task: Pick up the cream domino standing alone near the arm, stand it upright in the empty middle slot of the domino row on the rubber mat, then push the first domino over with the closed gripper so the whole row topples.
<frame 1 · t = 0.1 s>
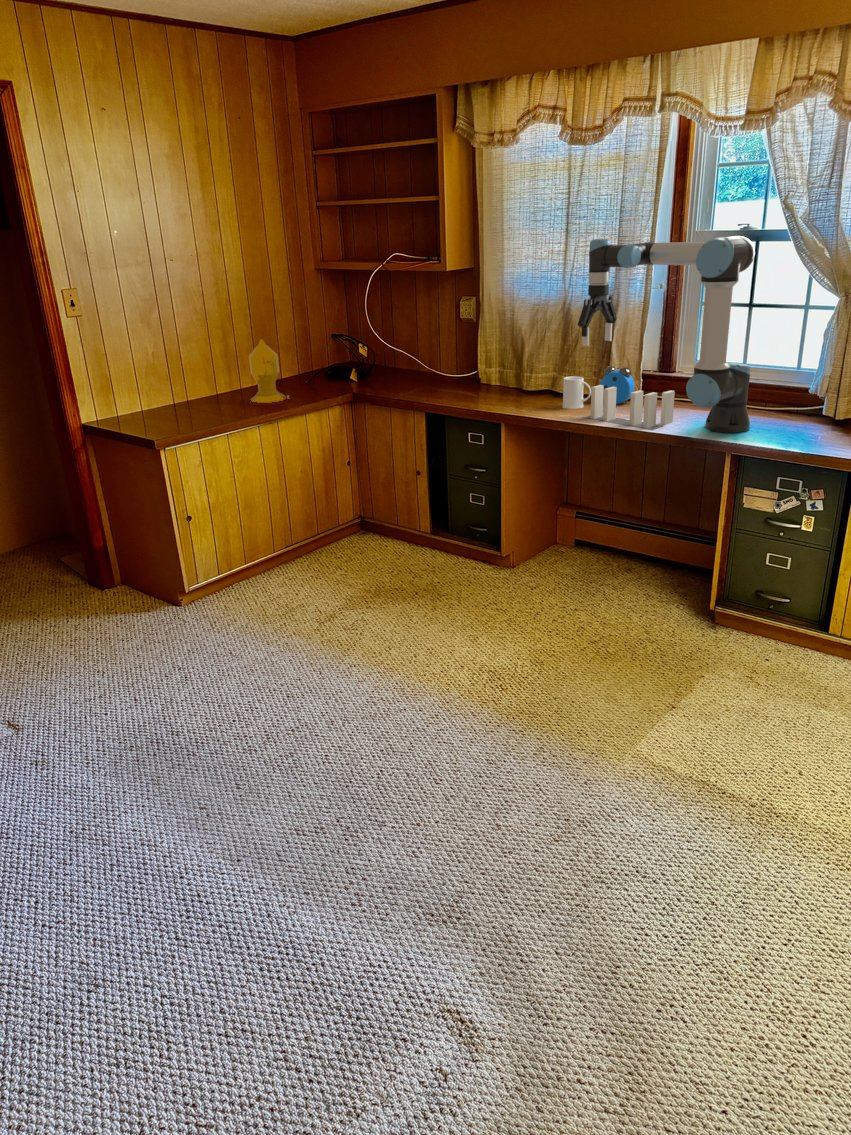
hand: (596, 343, 317), 28 cm above the worktop, tool pointing down, fingers open, 13 cm apart
domino 2: (635, 424, 312), resting on mat
domino 4: (609, 419, 320), resting on mat
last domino: (596, 417, 324), resting on mat
alarm clock: (616, 403, 347), on the worktop
mat: (622, 422, 316), on the worktop
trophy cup: (271, 402, 384), on the worktop
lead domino: (649, 426, 308), resting on mat
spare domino: (666, 424, 311), on the worktop
mug: (576, 408, 343), on the worktop
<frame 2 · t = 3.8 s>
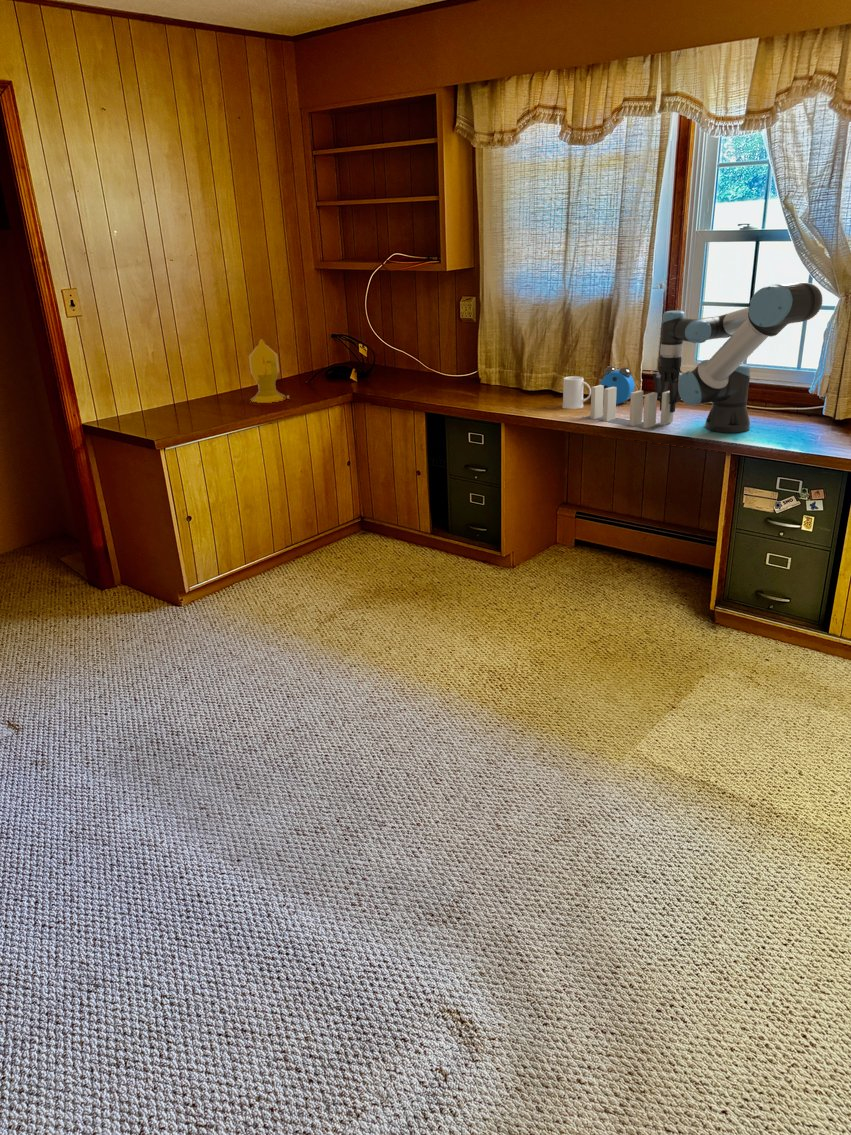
hand: (666, 420, 311), 1 cm above the worktop, tool pointing down, fingers closed on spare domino, 2 cm apart
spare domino: (666, 424, 311), on the worktop, touching gripper
everything else where it was.
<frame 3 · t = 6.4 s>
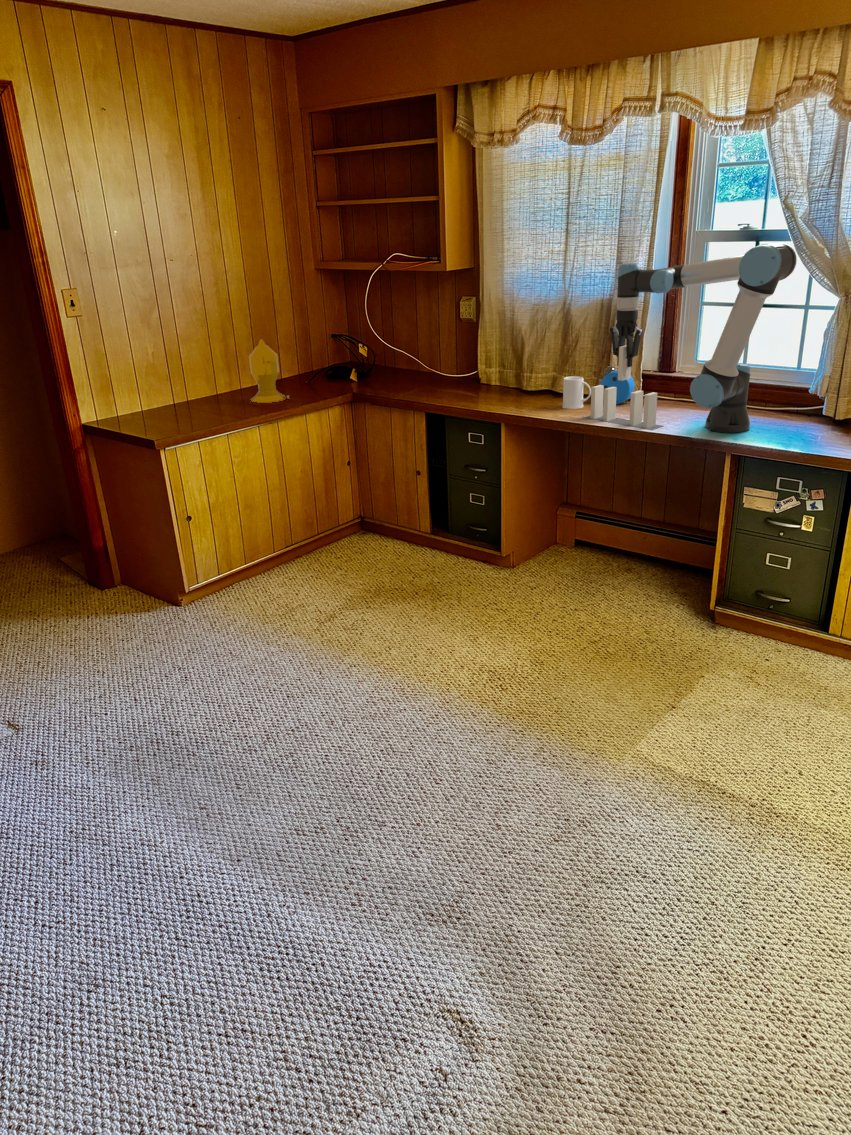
hand: (624, 375, 309), 18 cm above the worktop, tool pointing down, fingers closed on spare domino, 2 cm apart
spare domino: (624, 379, 310), point 16 cm above the worktop, touching gripper
everything else where it was.
when the fingers open (2 cm above the worktop, at t = 9.3 s): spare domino stays where it is, resting on mat.
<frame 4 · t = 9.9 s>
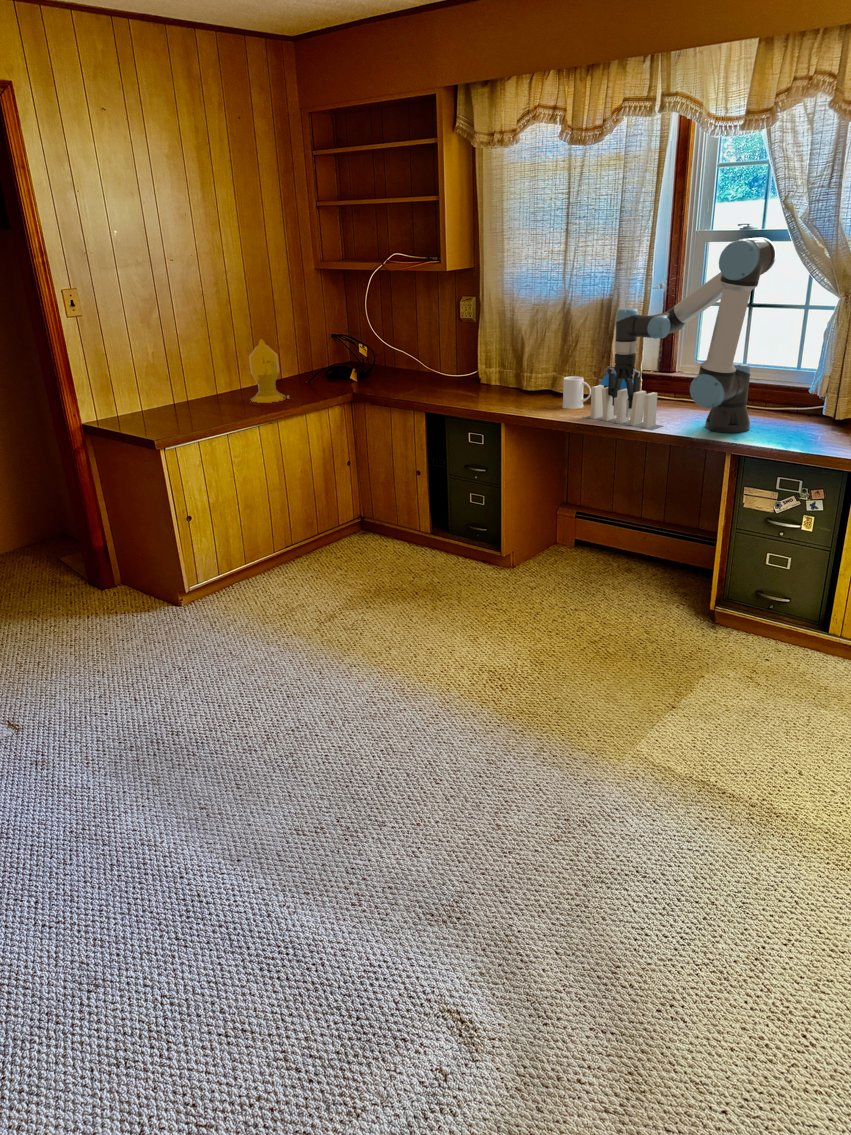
hand: (622, 415, 315), 3 cm above the worktop, tool pointing down, fingers open, 5 cm apart
domino 2: (635, 423, 312), resting on mat, tilted 6°, touching gripper
domino 4: (609, 419, 320), resting on mat, tilted 6°
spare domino: (622, 421, 316), resting on mat
everything else where it was.
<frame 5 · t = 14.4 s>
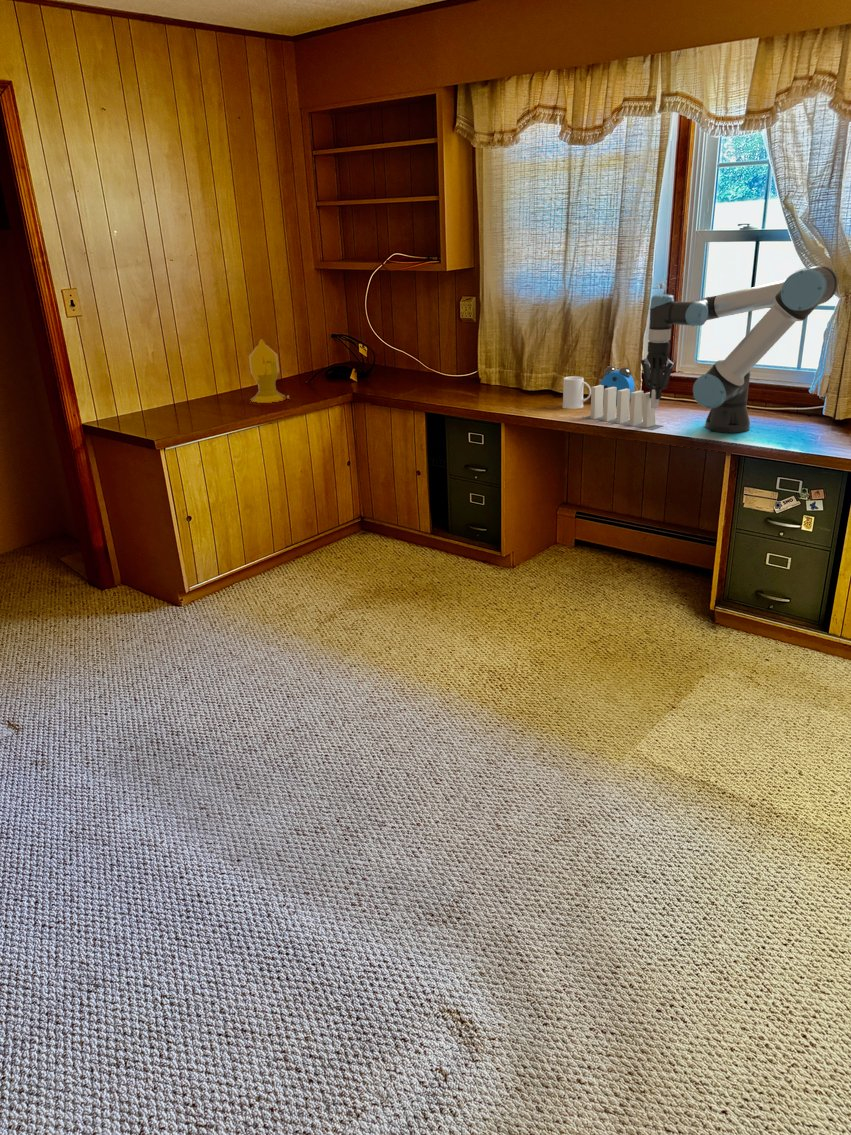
hand: (654, 407, 304), 8 cm above the worktop, tool pointing down, fingers closed
domino 2: (635, 424, 312), resting on mat
domino 4: (609, 419, 320), resting on mat
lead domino: (649, 426, 308), point 1 cm above the worktop, tilted 7°, touching gripper, mat
everything else where it was.
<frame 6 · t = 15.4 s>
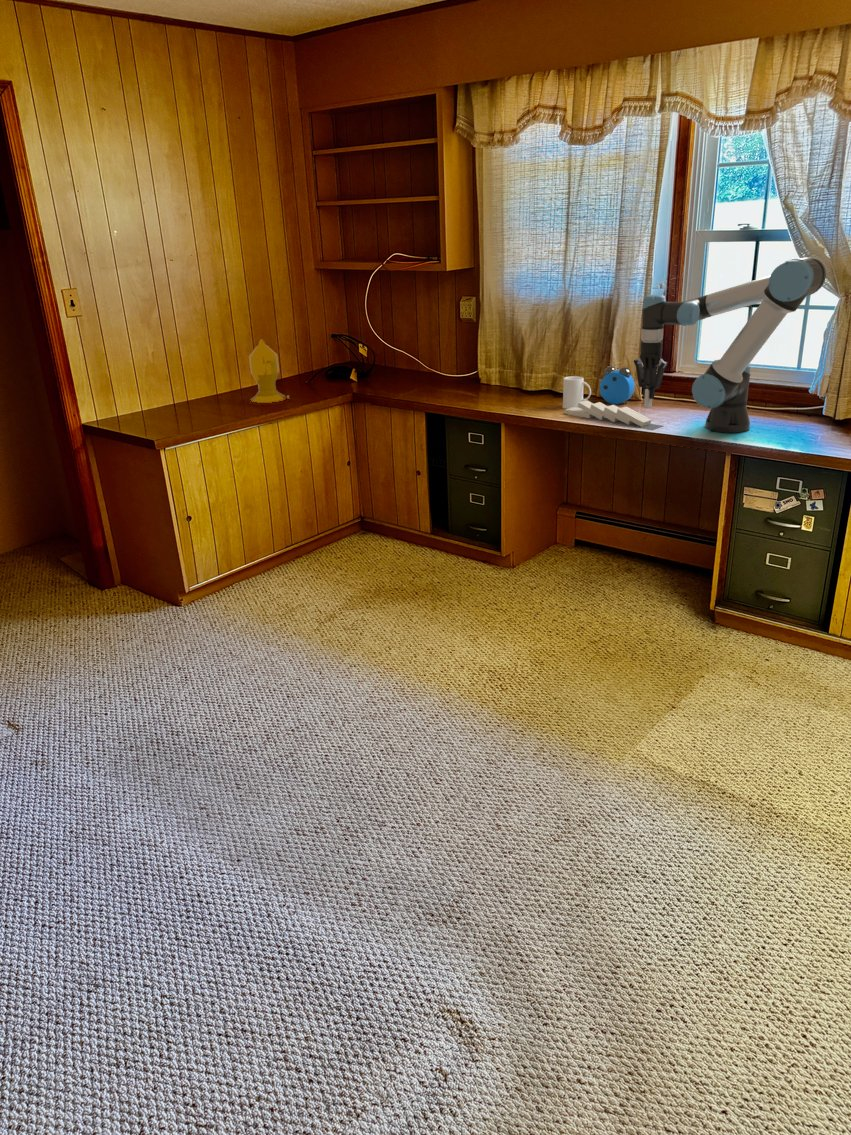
hand: (648, 407, 306), 7 cm above the worktop, tool pointing down, fingers closed
domino 2: (633, 421, 312), point 1 cm above the worktop, tilted 73°, touching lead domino, mat, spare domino
domino 4: (605, 416, 321), point 1 cm above the worktop, tilted 72°, touching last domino, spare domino
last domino: (593, 414, 325), point 1 cm above the worktop, tilted 90°, touching domino 4, mat
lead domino: (646, 423, 308), point 1 cm above the worktop, tilted 73°, touching domino 2
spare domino: (618, 418, 317), point 1 cm above the worktop, tilted 72°, touching domino 2, domino 4, mat
everything else where it was.
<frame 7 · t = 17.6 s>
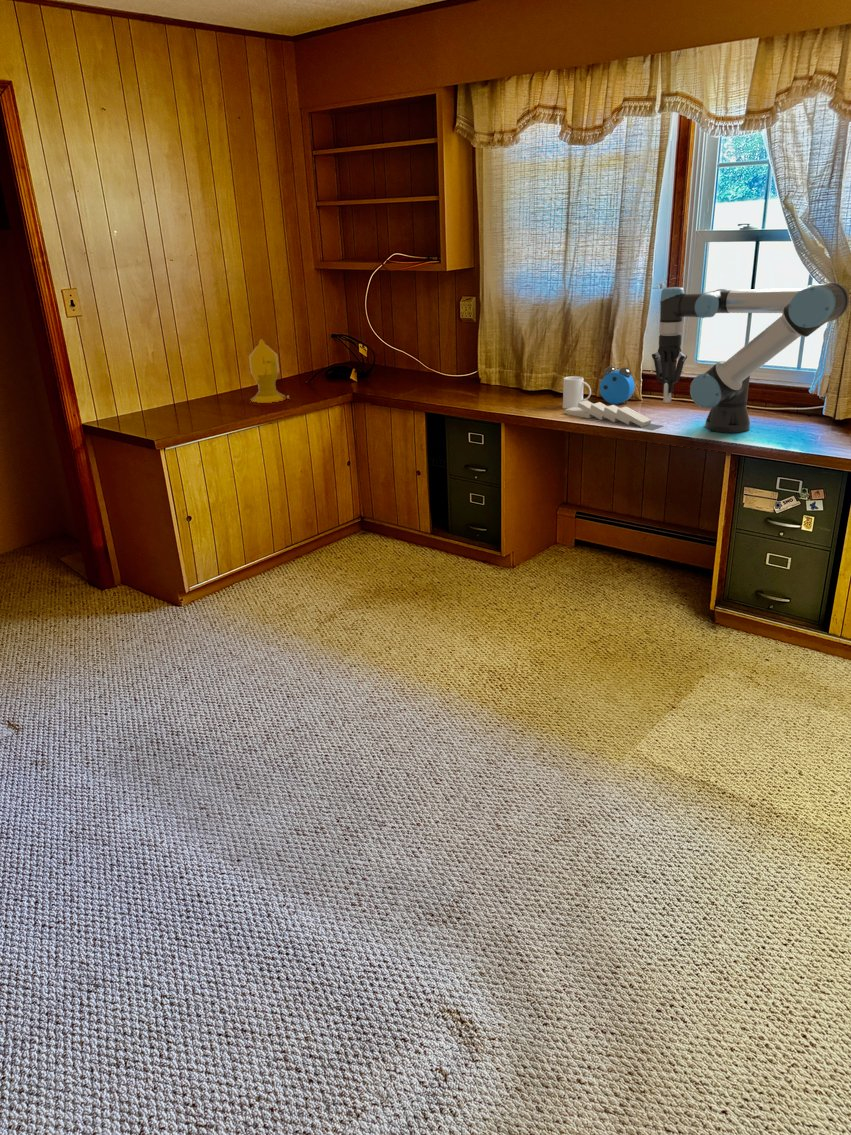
hand: (667, 401, 301), 10 cm above the worktop, tool pointing down, fingers closed
nothing on the worktop moved.
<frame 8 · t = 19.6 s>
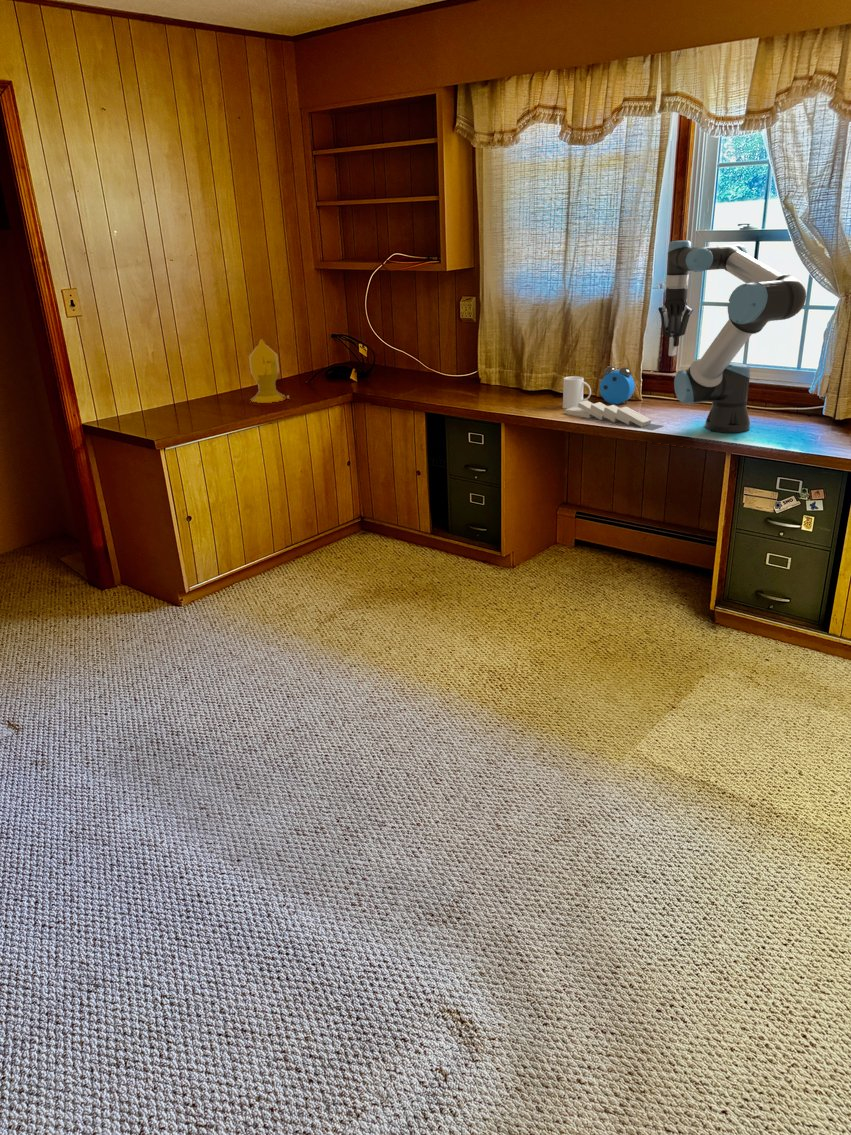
hand: (672, 355, 305), 24 cm above the worktop, tool pointing down, fingers closed
nothing on the worktop moved.
at the end: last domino tilted 90°; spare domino 1.6 cm from the mat (horizontally); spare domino tilted 72° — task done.
